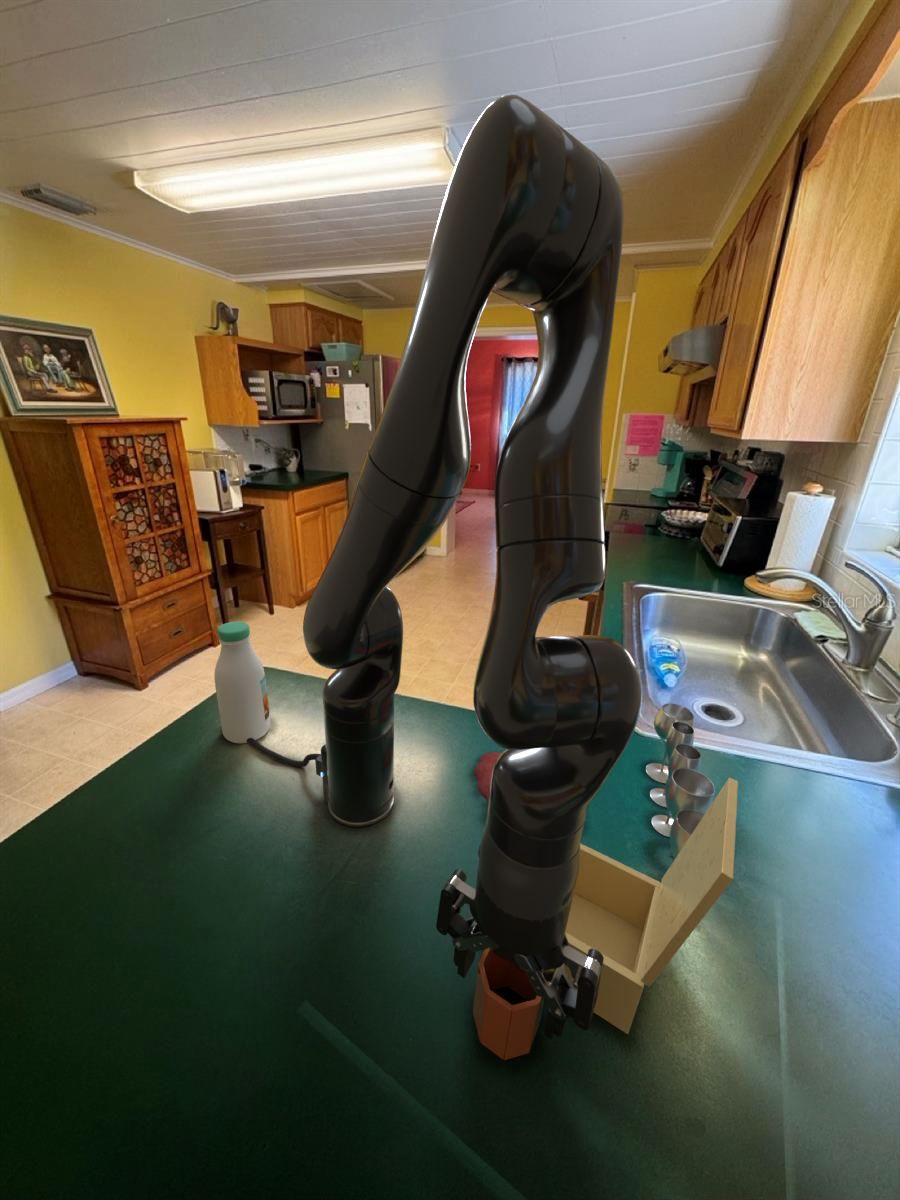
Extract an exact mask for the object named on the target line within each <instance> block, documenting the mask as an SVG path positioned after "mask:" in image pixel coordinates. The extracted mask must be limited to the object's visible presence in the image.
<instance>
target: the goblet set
mask: <svg viewBox="0 0 900 1200" xmlns="http://www.w3.org/2000/svg"><path fill="white" fill-rule="evenodd" d="M695 722H696V721H695V715H694V713H693V712H692V710H690V709H689V708H688V707H686V706H683V705H681V704H677V703H665V704H663V705H662V706H661V707H660V708H659V710H658V711H657V713H656V714H655V716H654V719H653V728H654V731H655V733H656V734H657V736H658V737H659V739H660V740H661V741H662V743H663V745H664V754H663V759H662V762H661V763H658V762H651V763H649V764H647V765H646V767H645V772H646V774H647V776H648V777H650V778H651V779H652V780H654V781H655V782H658V783H660V784H664V785H665V786H664V788H660V787H655V788H652V789H651V790H650V791H649V797H650V798H651V800H652V801H653V802H654V803H655V804H656V805H658V806H661V807H663V808H667V811H668V812H667V813H668V814H667V815H664V814H656V815H654V816H653V817H651V825H652V828H653V829H655V831H656V832H657V833H659V835H662V836H664V837H667V838H669V844H670V849H669V853H668V856H669V857H673V855H674V857H675V858H676V857H677V856H678V854H679V853H680V851H681V850H682V848H683V847H684V845H685V843H686V842H687V840H688V839H689V837H690V836H691V834H692V833H693V831H694V830H695V828H696V827H697V825H698V824H699V822H700V821H701V819H702V818H703V816H704V815H705V813H706V812H707V810H708V809H709V807H710V806H711V804H712V803H713V801H714V800H715V795H716V794H715V792H716V788H715V785H714V783H713V781H712V780H711V779H710V778H709V777H708V776H706V775H705V774H703V773H702V772H700V769H701V763H702V754H701V752H700V750H699V749H697V748H696V747H695V746H694V742H695V729H696V723H695ZM666 761H668V765H665V764H666Z"/></svg>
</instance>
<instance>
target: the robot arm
mask: <svg viewBox="0 0 900 1200" xmlns="http://www.w3.org/2000/svg"><path fill="white" fill-rule="evenodd" d="M443 198H444V199H443V201H442V205H441V208H440V213H439V216H438V220H437V224H436V228H435V231H434V235H433V239H432V242H431V246H430V249H429V254H428V256H427V261H426V264H425V269H424V273H423V277H422V281H421V284H420V288H419V293H418V295H417V300H416V303H415V307H414V311H413V316H412V320H411V323H410V327H409V331H408V334H407V337H406V341H405V343H404V344H405V345H404V347H403V350H402V354H401V357H400V360H399V363H398V366H397V370H396V373H395V376H394V378H393V380H392V383H391V387H390V390H389V393H388V396H387V398H386V402H385V405H384V408H383V410H382V412H381V416H380V418H379V421H378V423H377V425H376V428H375V430H374V433H373V436H372V437H371V438H372V439H371V441H370V443H369V445H368V446H369V447H368V448H367V449H368V450H367V452H366V455H365V457H364V461H363V464H362V467H361V470H360V473H359V476H358V478H357V481H356V486H355V489H354V491H353V496H352V499H351V502H350V505H349V507H348V510H347V512H346V516H345V518H344V521H343V524H342V526H341V529H340V532H339V534H338V537H337V539H336V542H335V545H334V547H333V550H332V552H331V555H330V557H329V559H328V561H327V563H326V565H325V567H324V569H323V571H322V573H321V575H320V578H319V579H318V581H317V583H316V585H315V587H314V590H312V593H311V596H310V597H309V600H308V601H307V604H306V607H305V609H304V616H303V621H302V622H303V623H302V624H303V625H302V633H303V634H302V635H303V641H304V645H305V648H306V651H307V653H308V655H309V656H310V658H311V659H312V660H313V661H314V662H315V663H316V664H318V665H319V666H320V667H322V668H325V669H327V670H335V671H333V672H332V673H331V674H330V675H329V676H328V678H327V679H326V680H325V682H324V684H323V686H322V692H321V693H322V696H321V697H322V707H323V708H322V709H323V725H324V739H325V740H324V741H325V744H323V745H322V746H321V747H320V753H309V754H307V755H305V756H304V758H303V760H295V759H292V758H289V757H287V756H284V755H281V754H279V753H277V752H275V751H273V750H271V749H269V748H267V747H266V746H264V745H262V744H261V743H260V742H258V741H257V740H254V739H253V738H248V739H247V743H248V744H249V745H250V746H252V747H253V748H254V749H256V750H257V751H258V752H260V753H261V754H263V755H265V756H267V757H269V758H272V759H273V760H275V761H278V762H279V763H281V764H283V765H287V766H291V767H294V768H304V767H306V766H307V765H309V764H310V761H314V762H315V774H316V775H317V776H319V777H320V778H322V793H323V801H324V803H326V804H327V807H328V812H329V814H330V815H331V817H332V818H333V819H334V820H335V821H336V822H338V823H339V824H341V825H344V826H347V827H352V828H362V827H368V826H371V825H374V824H376V823H378V822H380V821H382V820H383V819H384V818H386V817H387V815H388V814H389V813H390V812H391V810H392V809H393V806H394V804H395V790H394V781H395V780H396V779H395V777H396V773H395V765H394V764H395V693H396V691H397V689H398V688H399V685H400V681H401V674H402V671H401V670H402V660H403V646H404V645H403V644H404V619H403V612H402V609H401V606H400V603H399V601H398V599H397V597H396V595H395V593H394V592H393V591H392V589H391V588H390V587H388V585H389V584H390V583H391V582H392V581H393V580H394V579H396V577H397V576H398V575H399V574H401V573H402V571H403V570H404V569H405V568H407V567H408V566H409V565H410V564H411V563H412V562H413V561H414V560H415V559H416V558H417V557H418V556H419V555H420V554H421V553H423V551H424V550H425V549H426V548H427V547H428V546H429V545H430V544H431V542H432V541H433V540H434V539H435V538H436V536H437V535H438V534H439V533H440V531H441V529H442V528H443V526H444V525H445V523H446V521H447V519H448V517H449V516H450V514H451V512H452V510H453V508H454V506H455V504H456V502H457V500H458V498H459V496H460V494H461V492H462V491H463V488H464V486H465V485H466V481H467V480H468V477H469V474H470V469H471V461H472V447H471V446H472V443H471V431H470V421H469V414H468V406H467V405H468V404H467V392H466V373H467V365H468V358H469V354H470V350H471V347H472V343H473V340H474V337H475V334H476V331H477V327H478V325H479V323H480V318H481V315H482V314H483V311H484V309H485V307H486V304H487V301H488V299H489V298H490V295H491V293H493V294H496V295H498V296H500V297H503V298H505V299H507V300H508V301H511V302H513V303H515V304H517V305H518V306H520V307H523V308H526V309H529V310H531V312H532V316H533V320H534V326H535V331H536V332H535V333H536V339H537V349H538V351H537V352H538V353H537V356H538V357H537V366H536V372H535V376H534V379H533V381H532V384H531V387H530V389H529V392H528V394H527V396H526V398H525V400H524V402H523V404H522V406H521V407H520V410H519V411H518V414H517V416H516V417H515V419H514V421H513V423H512V425H511V427H510V429H509V432H508V433H507V435H506V438H505V440H504V442H503V445H502V448H501V451H500V454H499V458H498V461H497V466H496V471H495V479H494V523H495V525H494V527H495V550H496V552H495V553H496V554H495V557H496V558H495V559H496V561H495V562H496V564H495V565H496V567H495V581H494V587H493V594H492V595H493V596H492V601H491V602H492V603H491V607H490V612H489V617H488V622H487V626H486V631H485V634H484V639H483V643H482V647H481V650H480V654H479V658H478V661H477V665H476V669H475V670H476V671H475V675H474V680H473V688H472V689H473V690H472V702H473V708H474V713H475V717H476V719H477V721H478V724H479V726H480V727H481V729H482V731H483V733H484V734H485V735H486V737H488V739H489V740H490V741H491V742H492V743H493V744H495V746H498V747H500V748H502V749H505V750H504V751H503V752H501V753H502V754H501V755H500V756H499V758H498V759H497V760H496V762H495V765H494V767H493V771H492V776H491V783H490V795H489V804H488V805H487V810H488V813H487V812H486V820H485V824H484V827H483V831H482V833H481V839H480V843H479V847H478V851H477V852H478V853H477V856H478V864H477V874H476V883H475V887H473V886H471V885H470V884H468V883H467V875H466V873H465V871H463V870H462V869H460V868H456V869H455V870H454V871H453V873H452V874H451V876H450V877H449V878H448V880H447V881H446V883H445V885H444V886H443V887H442V889H441V891H440V896H439V904H438V910H437V916H436V924H435V928H436V930H437V932H438V933H439V934H440V935H443V936H446V935H449V936H450V937H451V938H452V941H451V944H452V945H453V947H454V949H453V963H454V966H456V967H457V972H456V973H457V975H459V976H460V977H461V978H463V979H465V978H466V977H467V975H468V973H469V971H470V969H471V967H472V965H473V963H474V961H475V957H476V953H477V952H480V951H484V950H485V949H488V948H490V949H491V950H492V952H493V953H494V954H496V955H497V956H499V957H500V958H502V959H505V960H507V961H509V962H510V963H511V964H512V965H513V966H514V967H516V968H517V969H518V970H520V971H521V972H523V973H524V974H526V976H527V977H528V979H529V981H530V983H531V985H532V987H533V989H534V990H535V992H536V994H537V996H539V997H544V1002H545V1003H546V1004H547V1006H548V1010H547V1015H546V1019H545V1024H544V1028H543V1033H542V1035H543V1036H544V1037H546V1038H547V1039H549V1040H550V1041H551V1040H552V1039H553V1036H556V1038H561V1036H562V1035H563V1032H564V1029H565V1026H566V1023H567V1020H568V1018H571V1019H573V1022H574V1024H575V1025H576V1027H578V1028H579V1029H581V1030H583V1031H588V1030H589V1029H590V1025H591V1022H592V1018H593V1014H594V1012H593V1011H594V1008H595V1004H596V1000H597V996H598V990H599V984H600V978H601V972H602V966H603V960H604V957H603V955H602V954H601V953H600V952H599V951H598V950H596V949H589V951H588V954H587V956H586V955H584V954H582V953H581V952H579V951H577V950H575V949H573V948H572V947H570V946H569V943H568V940H567V937H566V934H565V931H566V926H567V922H568V917H569V913H570V908H571V904H572V899H573V894H574V890H575V885H576V880H577V876H578V871H579V865H580V845H581V844H582V838H583V835H584V830H585V826H586V820H587V816H588V812H589V806H590V804H591V802H592V801H593V799H595V797H596V796H597V794H598V793H599V791H600V790H601V788H602V787H603V785H604V783H605V782H606V780H607V779H608V777H609V775H610V773H611V772H612V771H613V769H614V768H615V766H616V764H617V763H618V761H619V759H620V758H621V756H622V754H623V753H624V751H625V750H626V748H627V746H628V744H629V743H630V741H631V739H632V737H633V734H634V731H635V729H636V726H637V724H638V721H639V718H640V713H641V708H642V698H643V695H642V694H643V693H642V681H641V676H640V673H639V670H638V666H637V664H636V661H635V659H634V658H633V656H632V655H631V653H630V651H628V649H626V647H624V645H622V644H621V643H620V642H619V641H617V640H616V639H613V638H612V637H609V636H604V635H597V634H580V635H579V634H578V635H576V634H575V635H554V636H537V632H538V628H539V625H540V624H541V622H542V619H543V618H544V615H545V613H546V612H547V610H548V609H549V608H550V607H552V606H554V605H557V604H558V603H563V602H567V601H572V600H575V599H580V598H584V597H586V596H589V595H593V594H594V593H596V592H598V591H599V589H600V588H601V587H602V586H603V584H604V582H605V578H606V569H607V568H606V567H607V565H606V563H607V562H606V561H607V557H606V545H605V544H606V535H605V534H606V532H605V511H604V489H603V470H602V469H603V463H602V462H603V460H602V459H603V457H602V455H603V452H602V451H603V450H602V448H603V445H602V444H603V423H604V422H603V421H604V407H605V396H606V385H607V379H608V371H609V363H610V354H611V347H612V340H613V339H612V338H613V329H614V320H615V310H616V301H617V293H618V285H619V277H620V270H621V262H622V252H623V242H624V241H623V240H624V224H625V222H624V221H625V219H624V218H625V217H624V215H625V214H624V211H625V209H624V198H623V192H622V189H621V185H620V181H619V179H618V177H617V175H616V174H615V172H614V171H613V169H612V168H611V167H610V166H609V165H608V164H607V163H606V162H605V161H604V160H603V159H602V158H601V157H600V156H599V155H598V154H597V153H596V152H595V151H593V150H592V149H590V148H588V146H586V145H585V144H584V143H583V142H582V141H580V140H578V139H577V138H576V137H575V136H574V135H572V134H571V133H570V132H568V131H567V129H565V128H563V127H562V126H561V125H559V124H558V122H556V121H555V120H554V119H553V118H552V117H550V116H549V115H548V114H546V113H545V112H544V111H543V110H542V109H540V108H538V106H536V105H535V104H533V103H532V102H531V101H529V100H527V99H525V98H523V97H522V96H519V95H517V94H505V95H502V96H499V97H498V98H497V99H495V100H493V102H491V103H490V104H489V105H488V106H487V107H486V108H485V109H484V111H483V112H482V113H481V115H480V116H479V117H478V119H477V121H476V122H475V124H474V125H473V127H472V129H471V130H470V132H469V134H468V136H467V137H466V140H465V142H464V144H463V147H462V149H461V151H460V152H459V155H458V158H457V161H456V163H455V166H454V169H453V171H452V174H451V177H450V180H449V183H448V186H447V189H446V191H445V196H444V197H443ZM466 904H467V905H469V911H470V914H471V915H470V916H467V917H465V918H464V917H463V916H462V915H461V911H462V908H463V907H464V905H466ZM565 965H566V966H568V968H569V969H570V971H571V976H572V977H573V979H574V981H573V984H572V982H571V980H570V978H569V976H568V975H567V973H566V971H565ZM542 971H543V973H542ZM557 985H558V986H557ZM574 987H575V988H576V989H578V991H577V990H575V988H574Z"/></svg>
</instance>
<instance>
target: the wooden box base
mask: <svg viewBox="0 0 900 1200" xmlns="http://www.w3.org/2000/svg"><path fill="white" fill-rule="evenodd" d="M660 886H661V882H660V881H659V880H657V879H654V878H652V877H651V876H648V875H646V874H644V873H642V872H640V871H638V870H636V869H634V868H632V867H631V866H628V865H626V864H623V863H622V862H620V861H618V860H616V859H614V858H611V857H609V856H607V855H606V854H603V853H601V852H599V851H598V850H595V849H593V848H591V847H589V846H587V845H585V844H583V843H581V845H580V865H579V871H578V876H577V880H576V885H575V890H574V894H573V899H572V904H571V908H570V913H569V917H568V922H567V926H566V931H565V934H566V937H567V940H568V943H569V946H570V947H572V948H573V949H575V950H577V951H579V952H581V953H582V954H584V955H586V956H587V954H588V951H589V949H596V950H598V951H599V952H600V953H601V954H602V955H603V957H604V960H603V966H602V972H601V978H600V984H599V990H598V996H597V1000H596V1004H595V1008H594V1011H593V1014H596V1015H597V1016H599V1017H600V1018H602V1019H604V1020H605V1021H607V1022H608V1023H610V1024H611V1025H613V1026H614V1027H616V1028H617V1029H619V1030H620V1031H622V1032H623V1033H625V1034H626V1035H629V1033H630V1030H631V1027H632V1024H633V1021H634V1019H635V1015H636V1013H637V1009H638V1006H639V1003H640V1000H641V997H642V994H643V991H644V988H645V984H644V983H643V982H642V981H641V977H642V972H643V967H644V962H645V958H646V953H647V948H648V943H649V939H650V934H651V929H652V924H653V919H654V915H655V910H656V905H657V900H658V896H659V891H660ZM565 971H566V973H567V975H568V976H569V978H570V980H571V982H572V984H573V981H574V979H573V977H572V976H571V971H570V969H569V968H568V966H566V965H565ZM557 986H558V985H557ZM574 988H575V987H574ZM575 990H577V991H578V989H576V988H575Z"/></svg>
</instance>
